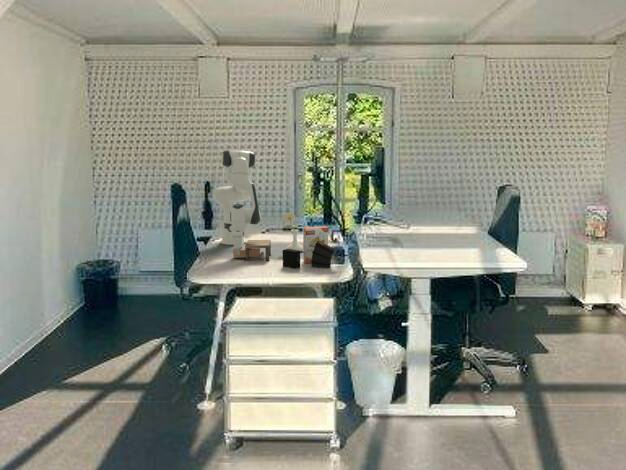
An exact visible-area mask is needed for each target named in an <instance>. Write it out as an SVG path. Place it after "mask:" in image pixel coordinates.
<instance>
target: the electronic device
mask: <svg viewBox="0 0 626 470" xmlns="http://www.w3.org/2000/svg"><path fill="white" fill-rule="evenodd" d="M282 267H283V268H288V269H292V270H293V269H294V270H295V269H300V268H301V251H299V250H293V249H286V248H285V249H283V250H282Z"/></svg>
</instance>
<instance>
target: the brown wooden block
mask: <svg viewBox="0 0 626 470" xmlns="http://www.w3.org/2000/svg"><path fill="white" fill-rule="evenodd" d="M260 254H261V248H249V257H260ZM232 255H233V258H234V259H235V258H236V259H237V258H240V259H241V258H245V259H246V250H245V247H244V248H243V247H242V248H241V249H240V255H237V249H235V248H233V251H232Z"/></svg>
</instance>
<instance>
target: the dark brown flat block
mask: <svg viewBox="0 0 626 470" xmlns="http://www.w3.org/2000/svg"><path fill="white" fill-rule="evenodd" d="M335 250H336V249H335V248H333V247H331V246H330V245H329V244H328V245H326V244H324V243H322V242H320V241H317V243H316V244H315V247H314V251H313V252H312V253H313V255H312V261H311V263H310V264H311V266H310V267H311V268H317V269H319V268H321V269H330V268H331V266H332V259H333V255H334V253H335V252H336V251H335Z"/></svg>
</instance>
